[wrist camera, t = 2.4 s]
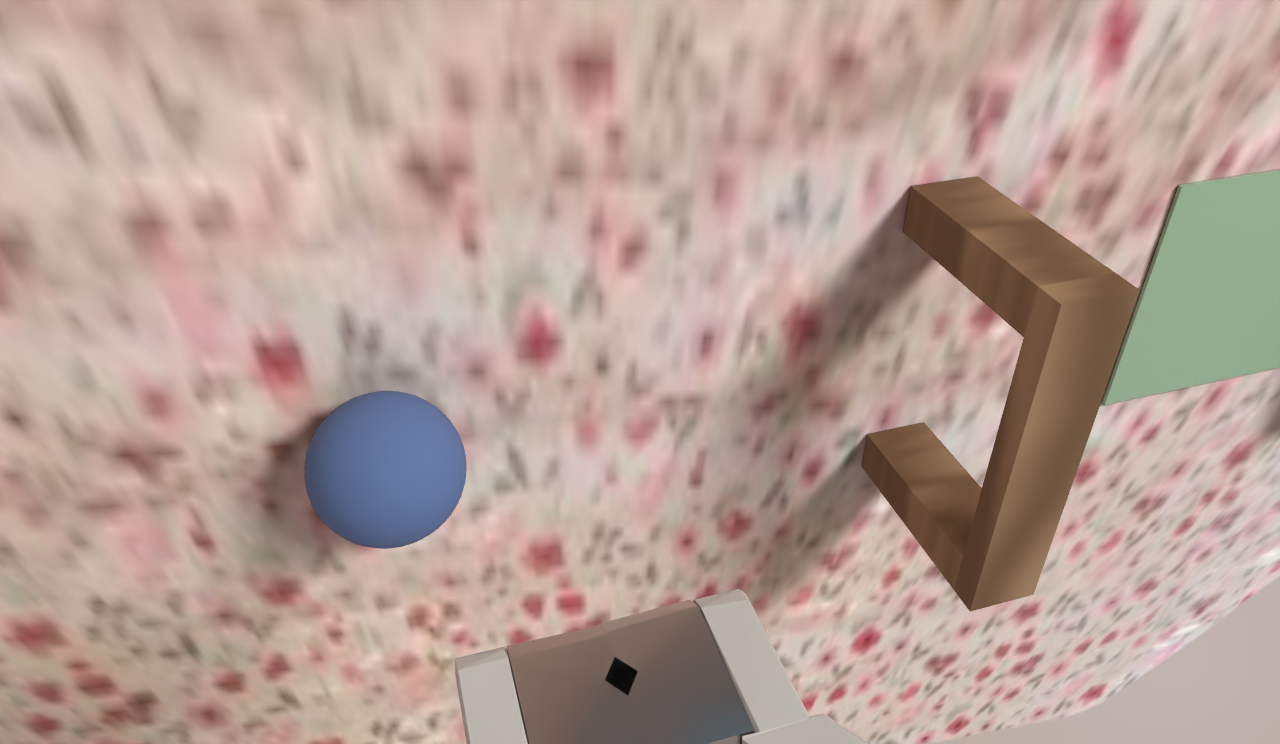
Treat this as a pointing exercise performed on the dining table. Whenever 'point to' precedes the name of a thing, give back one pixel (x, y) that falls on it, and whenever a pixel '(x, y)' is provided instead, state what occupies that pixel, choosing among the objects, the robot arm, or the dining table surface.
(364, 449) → the ball
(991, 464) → the bridge
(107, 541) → the dining table surface
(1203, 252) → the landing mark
